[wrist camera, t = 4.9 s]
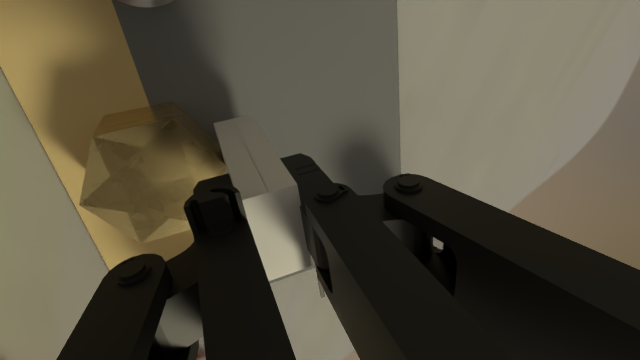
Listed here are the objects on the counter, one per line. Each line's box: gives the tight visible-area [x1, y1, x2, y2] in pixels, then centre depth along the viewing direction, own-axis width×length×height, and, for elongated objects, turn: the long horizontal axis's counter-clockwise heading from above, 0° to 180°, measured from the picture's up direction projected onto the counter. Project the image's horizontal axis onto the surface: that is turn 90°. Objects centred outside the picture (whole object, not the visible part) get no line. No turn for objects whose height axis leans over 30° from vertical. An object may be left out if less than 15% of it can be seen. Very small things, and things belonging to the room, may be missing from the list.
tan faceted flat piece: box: [79, 101, 226, 244], centre depth 14 cm, size 5×4×2 cm
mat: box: [0, 0, 401, 283], centre depth 16 cm, size 15×17×1 cm
